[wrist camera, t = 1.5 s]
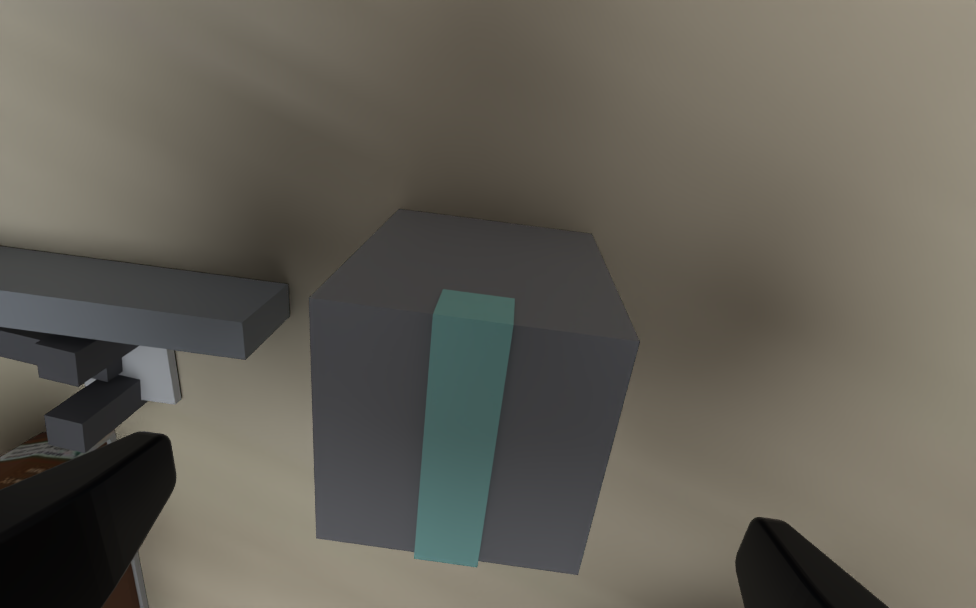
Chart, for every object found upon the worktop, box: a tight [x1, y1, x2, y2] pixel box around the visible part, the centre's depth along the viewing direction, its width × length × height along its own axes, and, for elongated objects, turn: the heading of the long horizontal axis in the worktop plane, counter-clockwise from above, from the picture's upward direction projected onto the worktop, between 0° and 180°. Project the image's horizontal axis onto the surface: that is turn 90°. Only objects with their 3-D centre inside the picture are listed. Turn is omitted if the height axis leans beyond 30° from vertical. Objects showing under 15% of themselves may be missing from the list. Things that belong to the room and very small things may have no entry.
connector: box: [309, 209, 640, 575], centre depth 11 cm, size 5×5×6 cm
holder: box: [0, 246, 290, 360], centre depth 11 cm, size 11×10×2 cm
